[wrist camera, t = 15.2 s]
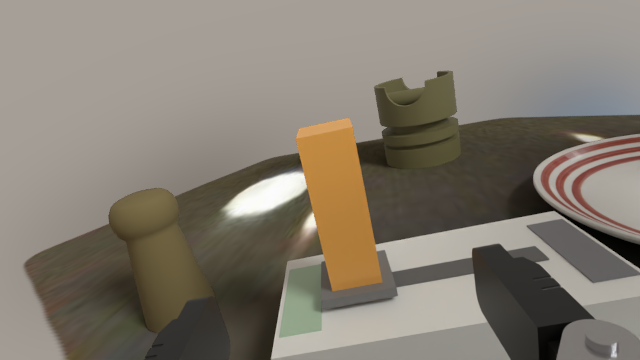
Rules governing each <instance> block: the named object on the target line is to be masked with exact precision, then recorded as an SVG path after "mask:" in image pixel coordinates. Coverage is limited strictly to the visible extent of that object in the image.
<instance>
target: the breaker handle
mask: <svg viewBox="0 0 640 360" xmlns="http://www.w3.org/2000/svg"><path fill="white" fill-rule="evenodd" d="M296 142H297V146H298V150H299V154H300V158H301V163H302V167H303V171H304V175H305V179H306V183H307V188H308V192H309V196H310V200H311V204H312V208H313V213H314V217H315V221H316V225H317V229H318V233H319V238H320V242H321V246H322V250H323V254H324V258H325V261H323V262H321V303H322V307H323V309H328V308H333V307H339V306H345V305H350V304H356V303H361V302H367V301H373V300H378V299H384V298H389V297H395V296H398V293H397V287H396V284H395V281H394V278H393V274H392V271H391V268H390V265H389V262H388V258H387V255H386V252H385V250H381V251H376V246H375V241H374V236H373V230H372V225H371V220H370V215H369V210H368V204H367V199H366V194H365V189H364V184H363V178H362V173H361V168H360V163H359V158H358V152H357V147H356V142H355V137H354V132H353V127H352V124H351V122H350V119H349V118H345V119H341V120H336V121H332V122H327V123H322V124H317V125H313V126H308V127H303V128H299V131H298V134H297V137H296Z"/></svg>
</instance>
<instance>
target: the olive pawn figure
mask: <svg viewBox="0 0 640 360" xmlns="http://www.w3.org/2000/svg"><path fill="white" fill-rule="evenodd" d="M178 218H179V207H178V204H177V201H176V199H175V197H174V196H173V194H172V193H170V192H169V191H168V190H166V189H162V188H154V189H146V190H142V191H138V192H135V193H132V194H130V195H128V196H126V197H124V198H122V199H120V200H118V201H117V202H116V203H114V205H113V206H112V207H111V209H110V212H109V224H110V226H111V228H112V230H113V232H114V233H115V234H116V235H117V236H118V237H119V238H120V239H122V240H124V241H125V242H126V245H127V249H128V253H129V257H130V261H131V265H132V269H133V274H134V278H135V282H136V286H137V290H138V294H139V298H140V302H141V307H142V311H143V315H144V319H145V323H146V326H147V328H148V329H149V330H150V331H153V332H156V333H160V332H161V331H162V330H163V329H164V328H165V327H166V326H167V325H168V324H169V323H170V322H171V321H172V320H174V319H177V318H178V316H179V315H180V313H181V311H182V309H183V307H184V306H185V304H186V302H187V301H188V300H193V299H198V298H203V297H209V296H213V297H214V298H216V297H215V294H214V292H213V290H212V288H211V286H210V284H209V282H208V280H207V278H206V276H205V275H204V273H203V271H202V269H201V267H200V265H199V263H198V261H197V260H196V258H195V256H194V254H193V252H192V250H191V248H190V246H189V245H188V243H187V241H186V239H185V237H184V235H183V233H182V231H181V230H180V228H179V226H178V224H177V221H178Z"/></svg>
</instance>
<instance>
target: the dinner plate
mask: <svg viewBox="0 0 640 360" xmlns="http://www.w3.org/2000/svg"><path fill="white" fill-rule="evenodd" d="M533 184H534V186H535V189H536V190H537V192H538V194H539V195H540V196H541V197H542V198H543V199H544V200H545V201H546V202H547V203H548V204H550V205H551V206H552V207H554V208H555V209H557V210H558V211H560V212H561V213H563V214H565V215H566V216H568V217H570V218H572V219H574V220H576V221H578V222H580V223H582V224H584V225H586V226H588V227H591V228H593V229H596V230H598V231H601V232H603V233H606V234H609V235H611V236H614V237H617V238H620V239H623V240H626V241H629V242H632V243H636V244H639V245H640V134H635V135H628V136H621V137H615V138H609V139H603V140H598V141H594V142H590V143H586V144H582V145H579V146H575V147H572V148H569V149H566V150H564V151H561V152H559V153H557V154H554V155H553V156H551V157H549V158H547V159H546V160H544V161H543V162H542V163H541V164H540V165H539V166H538V167H537V168H536V170H535V172H534V175H533Z"/></svg>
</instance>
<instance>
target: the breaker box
mask: <svg viewBox="0 0 640 360" xmlns="http://www.w3.org/2000/svg"><path fill="white" fill-rule="evenodd" d="M492 244H501V245H502V246H503V247H504V249H505V250H506V251H507V252H508V253H509V254H510V255H511V256H512V257H513V258H517V257H525V258H527V259H529V260H531V261H533V262H535V263H537V264H539V265H541V266H542V267H543V268H544V269H545V270H546V271H547V272H548V273H549V274H550V275H551V278H554V279H555V280H556V281H557V282H558V283H559V284H560V286H561V287H563V288H564V289H565V290H566V291H567V292H568V293H569V294H570V295H571V296H572V297H573V298H574V299H575V300H576V301H577V302H578V303H579V304H580V305H581V306H582V307H584V308H585V309H586V310H587V311H588V312H589V313H590V314H591V315H592V316H593V317H594V318H595V319H596V320H603V321H607V322H611V323H614V324H617V325H619V326H621V327H624V328H625V329H627V330H629V331H630V332H632V333H633V334H634V335H636V336H637V337H638V338H639V339H640V269H639V268H637V267H636V266H635V265H633V264H632V263H630V262H629V261H627V260H626V259H624V258H623V257H621V256H620V255H618V254H617V253H615V252H614V251H612V250H611V249H610V248H608V247H607V246H605V245H604V244H602V243H601V242H599V241H598V240H596V239H595V238H593V237H592V236H590V235H589V234H587V233H586V232H585V231H583V230H582V229H580V228H579V227H577V226H576V225H574V224H573V223H571V222H570V221H568V220H567V219H565V218H564V217H562V216H561V215H560V214H558V213H557V212H555V211H551V212H545V213H540V214H535V215H530V216H524V217H519V218H514V219H509V220H503V221H498V222H493V223H487V224H482V225H477V226H472V227H466V228H461V229H456V230H450V231H445V232H440V233H435V234H429V235H424V236H419V237H413V238H408V239H403V240H398V241H392V242H387V243H382V244H376V245H375V246H376V251H381V250H385V252H386V255H387V258H388V262H389V265H390V268H391V271H392V274H393V278H394V281H395V284H396V287H397V293H398V296H395V297H389V298H384V299H378V300H373V301H367V302H361V303H356V304H350V305H345V306H339V307H333V308H328V309H323V307H322V303H321V262H323V261H325V258H324V255H318V256H313V257H308V258H302V259H297V260H292V261H288V262H287V268H286V274H285V280H284V286H283V292H282V297H281V303H280V309H279V315H278V321H277V327H276V332H275V338H274V344H273V350H272V356H271V360H511V359H510V357H509V356H508V354H507V352H506V351H505V349H504V348H503V346H502V344H501V343H500V341H499V339H498V338H497V336H496V335H495V333H494V331H493V330H492V328H491V326H490V325H489V323H488V321H487V320H486V318H485V317H484V315H483V313H482V311H481V309H480V306H479V303H478V300H477V295H476V288H475V279H474V270H473V261H472V249H473V248H476V247H482V246H487V245H492Z"/></svg>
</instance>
